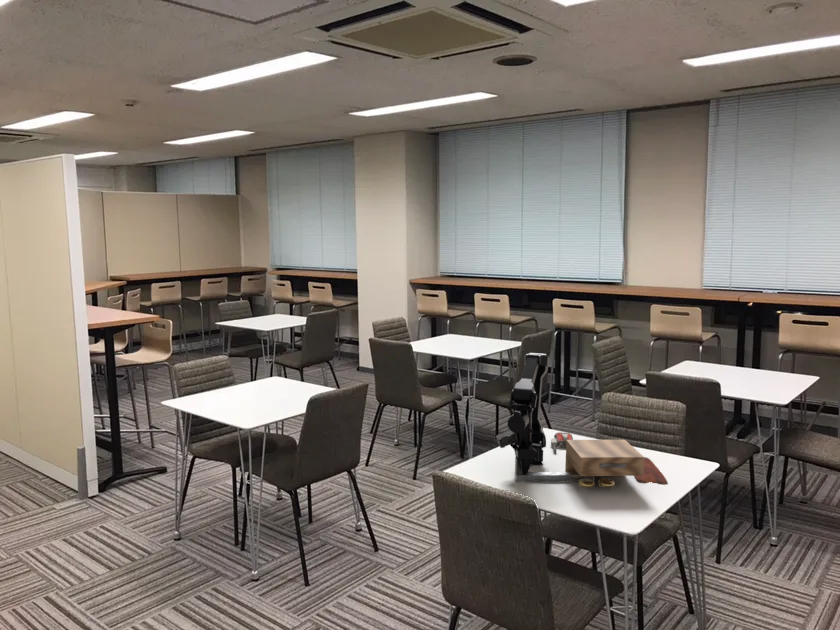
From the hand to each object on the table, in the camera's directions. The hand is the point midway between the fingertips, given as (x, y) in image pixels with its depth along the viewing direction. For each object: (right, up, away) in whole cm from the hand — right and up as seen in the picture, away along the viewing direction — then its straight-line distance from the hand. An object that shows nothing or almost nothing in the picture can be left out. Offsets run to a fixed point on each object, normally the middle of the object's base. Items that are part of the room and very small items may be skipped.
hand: (521, 470), depth 218 cm
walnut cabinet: (+26, -4, -3) cm, 27 cm away
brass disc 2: (+27, -4, -4) cm, 28 cm away
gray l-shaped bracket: (+11, -4, 0) cm, 11 cm away
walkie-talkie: (+21, 0, +36) cm, 42 cm away
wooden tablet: (+45, -3, +11) cm, 46 cm away
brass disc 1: (+21, -4, -4) cm, 21 cm away
